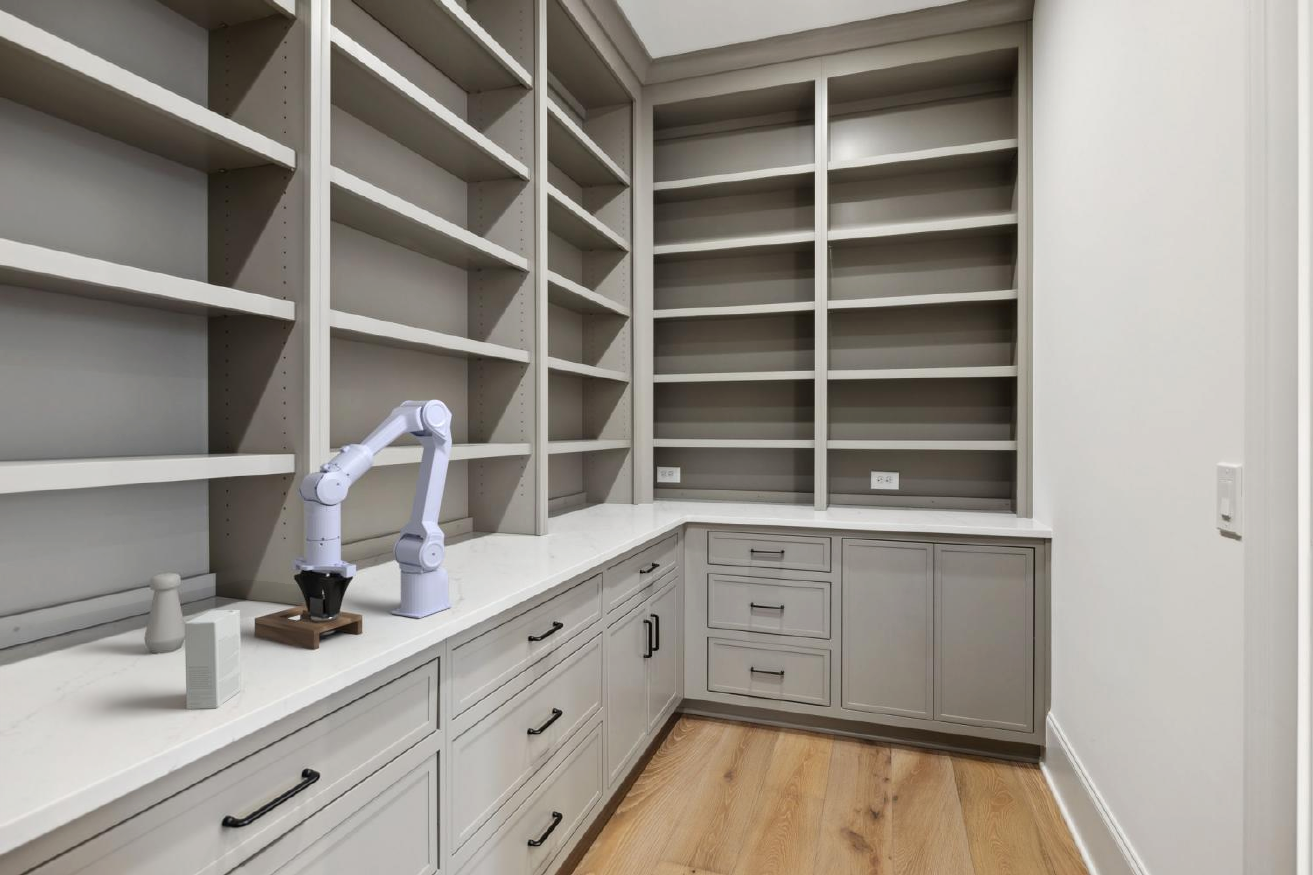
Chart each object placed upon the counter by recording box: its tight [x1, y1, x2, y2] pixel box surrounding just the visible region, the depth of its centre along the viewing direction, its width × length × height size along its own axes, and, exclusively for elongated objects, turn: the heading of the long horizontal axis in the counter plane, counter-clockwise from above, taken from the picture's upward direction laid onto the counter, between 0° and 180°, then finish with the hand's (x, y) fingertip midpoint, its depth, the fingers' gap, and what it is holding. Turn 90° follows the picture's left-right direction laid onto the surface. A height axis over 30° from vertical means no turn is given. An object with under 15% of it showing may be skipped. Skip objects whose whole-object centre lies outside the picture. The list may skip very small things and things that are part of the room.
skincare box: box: [184, 609, 242, 710], centre depth 91 cm, size 6×4×12 cm
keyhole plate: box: [254, 604, 363, 650], centre depth 120 cm, size 10×16×3 cm, turn 65°
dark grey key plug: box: [310, 593, 339, 636], centre depth 118 cm, size 4×4×7 cm
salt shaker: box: [143, 572, 185, 654], centre depth 111 cm, size 6×6×13 cm
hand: (323, 612), depth 118 cm, fingers open, 4 cm apart
